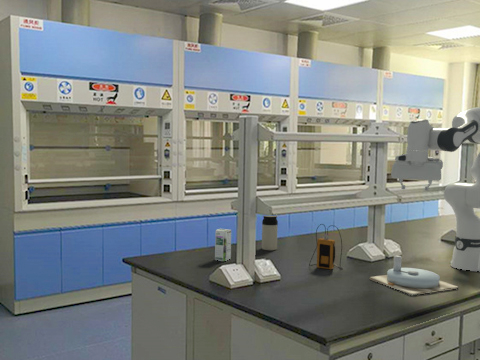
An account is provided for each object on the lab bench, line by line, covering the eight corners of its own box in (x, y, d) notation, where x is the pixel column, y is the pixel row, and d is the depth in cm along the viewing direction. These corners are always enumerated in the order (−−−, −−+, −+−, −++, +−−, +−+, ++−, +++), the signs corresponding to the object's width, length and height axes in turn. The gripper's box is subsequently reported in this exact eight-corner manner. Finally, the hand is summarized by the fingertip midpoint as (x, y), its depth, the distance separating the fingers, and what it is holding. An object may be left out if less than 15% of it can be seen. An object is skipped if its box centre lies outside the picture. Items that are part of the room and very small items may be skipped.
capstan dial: (447, 281, 205) (448, 260, 204) (425, 291, 190) (426, 268, 190) (401, 271, 219) (402, 251, 218) (377, 280, 204) (378, 258, 204)
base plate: (413, 273, 220) (413, 270, 220) (458, 289, 199) (458, 285, 199) (369, 279, 210) (369, 275, 210) (411, 296, 189) (412, 292, 188)
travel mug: (273, 251, 258) (274, 216, 257) (259, 249, 262) (260, 215, 260) (279, 248, 265) (280, 214, 264) (265, 246, 269) (266, 213, 267)
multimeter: (347, 266, 231) (348, 223, 229) (339, 271, 222) (341, 226, 220) (316, 262, 238) (318, 220, 236) (308, 266, 230) (310, 222, 228)
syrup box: (214, 260, 237) (214, 229, 236) (220, 257, 242) (221, 228, 241) (225, 262, 234) (225, 231, 233) (231, 259, 240) (231, 229, 238)
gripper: (442, 158, 214) (440, 191, 215) (392, 156, 221) (390, 188, 222) (443, 158, 208) (441, 192, 209) (391, 156, 215) (389, 189, 216)
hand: (414, 190), depth 215 cm, fingers open, 8 cm apart
